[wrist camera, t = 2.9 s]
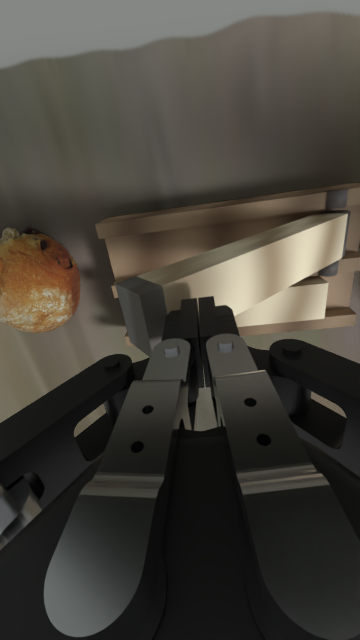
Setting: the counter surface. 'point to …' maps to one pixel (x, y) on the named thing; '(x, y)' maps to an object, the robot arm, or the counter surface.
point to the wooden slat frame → (236, 224)
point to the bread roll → (36, 281)
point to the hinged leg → (233, 273)
